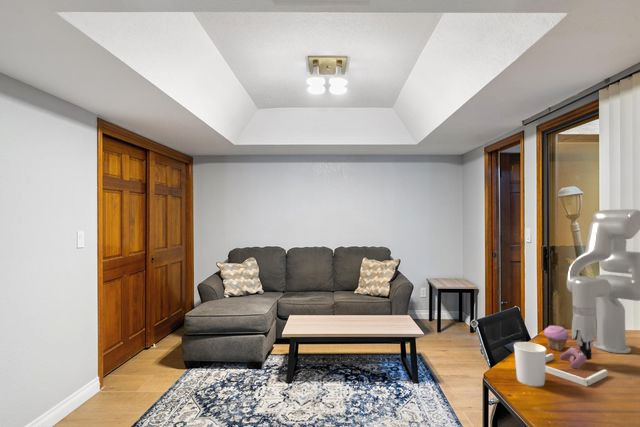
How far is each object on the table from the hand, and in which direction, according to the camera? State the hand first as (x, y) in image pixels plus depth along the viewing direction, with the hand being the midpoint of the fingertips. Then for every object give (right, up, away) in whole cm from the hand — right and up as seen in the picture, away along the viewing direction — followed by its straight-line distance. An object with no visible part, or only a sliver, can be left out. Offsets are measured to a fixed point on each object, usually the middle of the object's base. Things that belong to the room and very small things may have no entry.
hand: (585, 358), depth 138 cm
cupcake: (-1, -2, +15) cm, 15 cm away
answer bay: (-12, -2, -7) cm, 14 cm away
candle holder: (-30, -2, -15) cm, 34 cm away
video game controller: (-5, -2, -1) cm, 6 cm away
